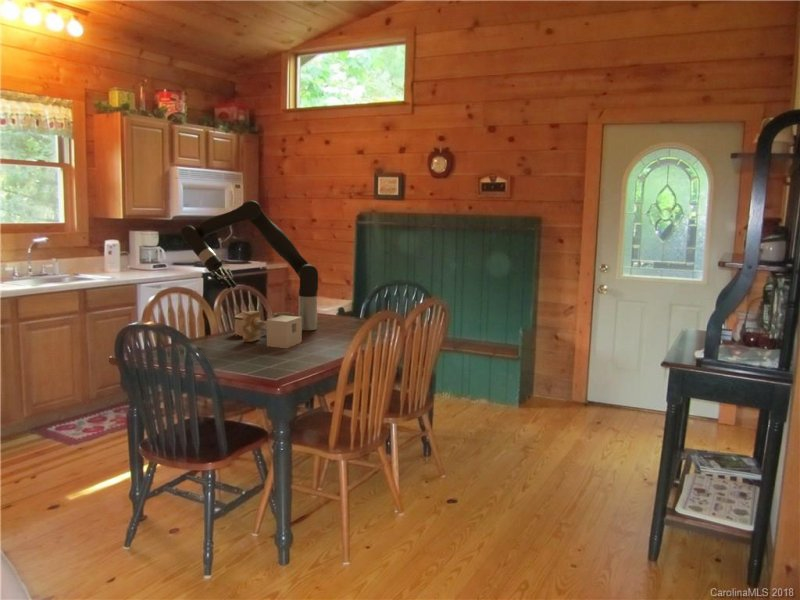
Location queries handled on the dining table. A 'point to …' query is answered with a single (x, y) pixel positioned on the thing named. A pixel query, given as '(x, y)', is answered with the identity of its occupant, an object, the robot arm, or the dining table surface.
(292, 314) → the coffee mug
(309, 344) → the dining table surface
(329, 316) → the dining table surface
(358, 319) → the dining table surface
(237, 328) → the teacup with lid
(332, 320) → the dining table surface
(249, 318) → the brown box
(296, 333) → the cardboard box
